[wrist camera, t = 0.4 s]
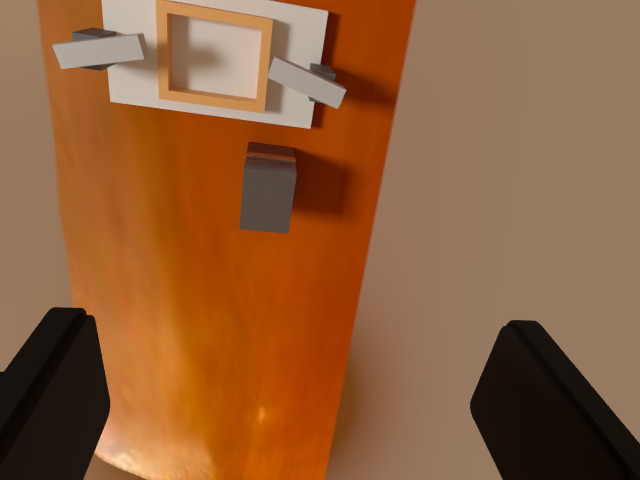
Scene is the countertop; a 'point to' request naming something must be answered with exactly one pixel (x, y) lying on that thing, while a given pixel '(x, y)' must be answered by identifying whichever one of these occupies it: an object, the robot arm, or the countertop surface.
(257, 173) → the block
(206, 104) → the stand
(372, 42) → the countertop surface
